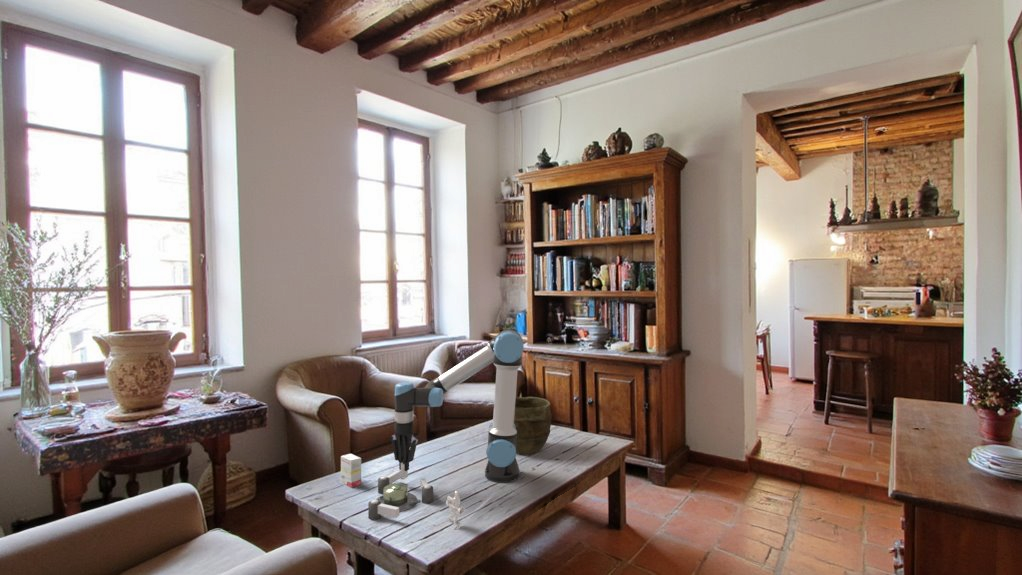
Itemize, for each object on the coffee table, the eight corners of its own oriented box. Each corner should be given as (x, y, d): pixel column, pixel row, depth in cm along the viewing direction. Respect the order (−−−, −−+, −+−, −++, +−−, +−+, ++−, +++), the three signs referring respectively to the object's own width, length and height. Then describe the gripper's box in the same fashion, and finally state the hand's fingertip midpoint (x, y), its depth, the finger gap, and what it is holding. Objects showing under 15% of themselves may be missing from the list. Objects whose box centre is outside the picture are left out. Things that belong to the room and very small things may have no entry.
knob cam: (365, 518, 171) (365, 502, 171) (373, 512, 175) (373, 497, 175) (393, 525, 166) (393, 509, 166) (401, 519, 170) (401, 503, 170)
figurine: (449, 519, 171) (449, 486, 171) (469, 526, 166) (469, 492, 166) (440, 525, 167) (440, 491, 167) (461, 532, 162) (461, 497, 162)
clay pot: (560, 447, 245) (560, 399, 245) (535, 463, 224) (535, 410, 223) (517, 439, 259) (517, 392, 258) (491, 453, 237) (491, 402, 237)
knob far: (384, 494, 190) (384, 480, 190) (375, 492, 191) (375, 478, 191) (403, 482, 201) (403, 469, 201) (394, 481, 203) (394, 467, 203)
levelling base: (436, 501, 186) (436, 483, 186) (400, 529, 164) (400, 509, 164) (382, 489, 196) (382, 472, 196) (341, 514, 175) (341, 496, 175)
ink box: (362, 485, 200) (361, 457, 199) (351, 489, 196) (351, 460, 196) (351, 480, 205) (350, 452, 205) (340, 483, 202) (340, 455, 201)
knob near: (434, 502, 183) (434, 487, 183) (422, 504, 181) (422, 489, 181) (428, 489, 194) (428, 475, 194) (417, 491, 193) (417, 477, 193)
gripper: (422, 420, 197) (422, 477, 198) (396, 416, 203) (396, 472, 203) (412, 425, 191) (412, 484, 191) (385, 421, 196) (385, 478, 196)
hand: (404, 477), depth 197 cm, fingers closed
